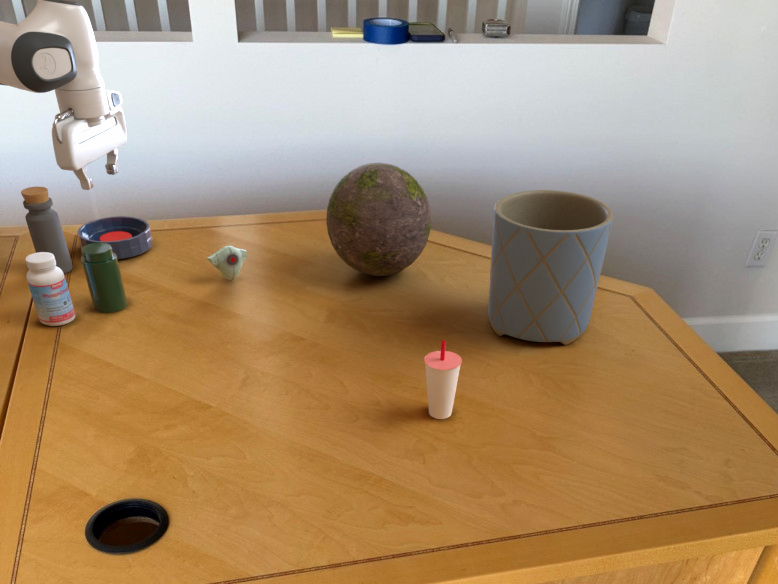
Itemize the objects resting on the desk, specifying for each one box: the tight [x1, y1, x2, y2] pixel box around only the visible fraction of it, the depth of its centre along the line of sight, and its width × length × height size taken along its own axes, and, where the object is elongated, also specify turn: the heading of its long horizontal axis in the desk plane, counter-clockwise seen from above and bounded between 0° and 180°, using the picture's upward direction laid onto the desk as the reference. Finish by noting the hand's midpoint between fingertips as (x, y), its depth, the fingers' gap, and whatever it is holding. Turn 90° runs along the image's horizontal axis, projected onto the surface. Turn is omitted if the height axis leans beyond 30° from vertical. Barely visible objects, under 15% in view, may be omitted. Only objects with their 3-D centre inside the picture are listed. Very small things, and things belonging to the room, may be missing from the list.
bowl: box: [76, 215, 154, 260], centre depth 159 cm, size 14×14×4 cm
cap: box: [100, 231, 132, 241], centre depth 160 cm, size 6×6×2 cm
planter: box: [487, 189, 614, 346], centre depth 131 cm, size 19×19×20 cm
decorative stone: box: [325, 162, 432, 277], centre depth 147 cm, size 20×20×20 cm
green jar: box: [80, 243, 129, 314], centre depth 138 cm, size 6×6×11 cm
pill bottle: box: [24, 252, 76, 327], centre depth 133 cm, size 6×6×11 cm
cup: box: [424, 339, 463, 420], centre depth 112 cm, size 5×5×12 cm
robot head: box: [206, 245, 248, 280], centre depth 148 cm, size 8×4×7 cm, turn 121°
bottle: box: [20, 186, 74, 274], centre depth 147 cm, size 6×6×15 cm
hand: (100, 181), depth 152 cm, fingers open, 8 cm apart
